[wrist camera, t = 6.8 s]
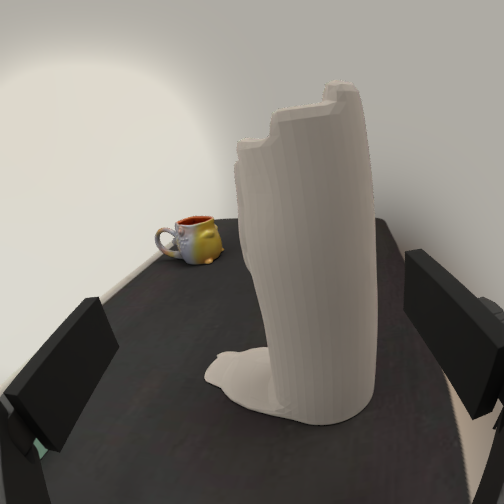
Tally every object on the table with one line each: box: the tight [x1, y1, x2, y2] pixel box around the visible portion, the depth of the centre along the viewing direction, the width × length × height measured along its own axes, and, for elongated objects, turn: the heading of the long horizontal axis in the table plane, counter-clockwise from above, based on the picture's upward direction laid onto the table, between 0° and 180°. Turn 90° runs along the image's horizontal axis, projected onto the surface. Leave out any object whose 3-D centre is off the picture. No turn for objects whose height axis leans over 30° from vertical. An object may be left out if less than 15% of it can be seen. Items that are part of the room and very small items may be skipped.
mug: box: [155, 216, 224, 265], centre depth 53 cm, size 12×7×7 cm, turn 70°
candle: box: [204, 80, 378, 425], centre depth 20 cm, size 7×14×20 cm, turn 62°
